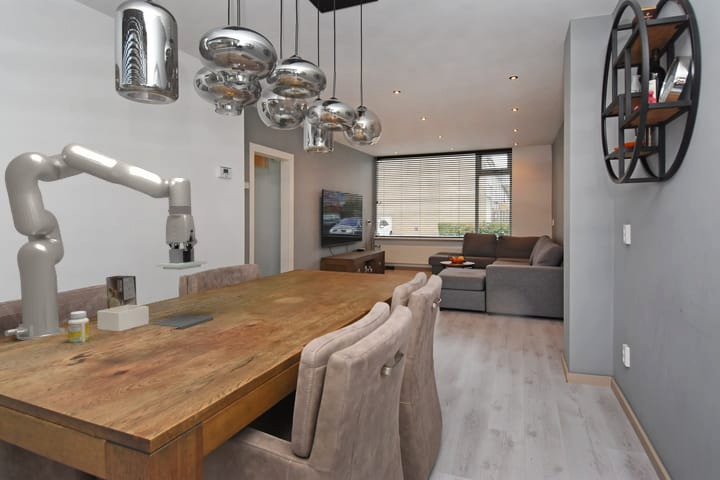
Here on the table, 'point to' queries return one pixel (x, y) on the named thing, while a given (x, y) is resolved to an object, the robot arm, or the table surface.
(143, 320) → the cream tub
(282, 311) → the table surface
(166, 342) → the table surface
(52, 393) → the table surface
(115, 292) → the coffee box
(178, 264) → the sage lid
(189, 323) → the charcoal mat
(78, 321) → the supplement bottle
